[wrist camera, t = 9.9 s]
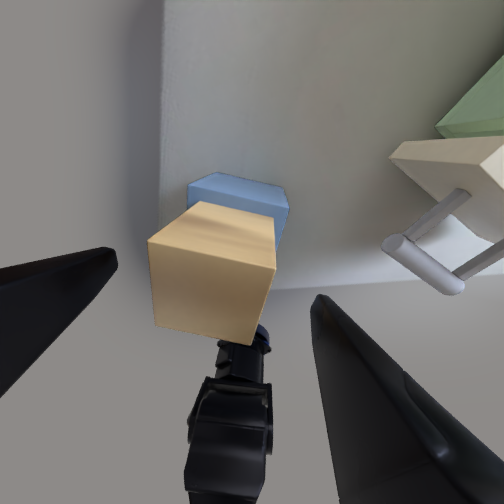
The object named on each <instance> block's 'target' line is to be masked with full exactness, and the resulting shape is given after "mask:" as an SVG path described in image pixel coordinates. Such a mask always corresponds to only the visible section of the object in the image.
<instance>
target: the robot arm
mask: <svg viewBox="0 0 504 504" xmlns="http://www.w3.org/2000/svg"><path fill="white" fill-rule="evenodd" d="M117 268H118V261H117V256H116V252H115V250H114V249H112V248H107V247H100V248H95V249H90V250H85V251H81V252H76V253H72V254H66V255H62V256H57V257H52V258H47V259H43V260H38V261H33V262H29V263H24V264H19V265H15V266H10V267H5V268H0V398H1V397H2V396H3V395H4V394H5V392H7V391H8V389H9V388H10V387H11V386H12V385H13V384H14V383H15V382H16V381H17V380H18V379H19V378H20V377H21V376H22V375H23V374H24V373H25V371H26V370H27V369H28V368H29V367H30V366H31V365H32V364H33V363H34V362H35V361H36V360H37V359H38V358H39V357H40V356H41V354H43V352H44V351H45V350H46V349H47V348H48V347H49V346H50V345H51V344H52V343H53V342H54V341H55V340H56V339H57V338H58V337H59V336H60V334H61V333H62V332H63V331H64V330H65V329H66V328H67V327H68V326H69V325H70V324H71V323H72V322H73V321H74V320H75V319H76V318H77V317H78V315H79V314H80V313H81V312H82V311H83V310H84V309H85V308H86V307H87V306H88V305H89V304H90V303H91V301H92V300H93V299H94V298H95V297H96V296H97V295H98V293H99V292H100V291H101V289H102V288H103V287H104V285H105V284H106V283H107V282H108V280H109V279H110V278H111V277H112V275H113V274H114V273H115V271H116V270H117ZM310 316H311V332H312V345H313V352H314V357H315V363H316V369H317V375H318V381H319V387H320V392H321V398H322V404H323V409H324V416H325V421H326V427H327V433H328V439H329V445H330V450H331V456H332V462H333V467H334V473H335V479H336V485H337V491H338V496H339V498H340V499H339V503H340V504H504V462H503V461H502V460H501V459H500V458H499V457H498V456H497V455H496V454H494V452H492V451H491V450H490V449H489V448H488V447H487V446H486V445H485V444H483V443H482V442H481V441H480V440H479V439H478V438H477V437H476V436H474V435H473V434H472V433H471V432H470V431H469V430H468V429H467V428H465V427H464V426H463V425H462V424H461V423H460V422H459V421H458V420H456V419H455V418H454V417H453V416H452V415H451V414H450V413H449V412H448V411H447V410H446V409H444V408H443V407H442V406H441V405H440V404H439V403H438V402H437V401H436V400H435V399H434V398H433V397H432V396H430V395H429V394H428V393H427V392H426V391H425V390H424V389H423V388H422V387H421V386H420V385H419V384H418V383H417V382H416V381H415V380H414V379H413V378H412V377H411V376H410V375H409V374H408V373H407V372H405V371H403V369H402V368H401V367H400V366H399V365H398V364H397V363H396V362H395V361H394V360H393V359H392V358H391V357H390V356H389V355H388V354H387V353H386V352H385V351H384V350H383V349H382V348H381V347H380V346H379V345H378V344H377V343H376V342H375V341H374V340H373V339H372V338H371V337H370V336H368V334H367V333H366V332H365V331H364V330H363V329H361V328H360V327H359V326H358V325H357V324H356V323H355V322H354V321H353V320H352V319H351V318H350V317H349V316H348V315H347V314H346V313H345V312H344V311H343V310H342V309H341V308H340V307H339V306H338V305H337V304H336V303H335V302H334V301H333V300H332V299H331V298H330V297H329V296H327V295H322V294H318V295H317V296H316V298H315V300H314V302H313V304H312V306H311V310H310ZM217 346H218V347H219V352H218V356H217V360H216V364H215V366H216V367H217V370H216V374H215V378H210V377H208V376H206V378H205V381H204V383H202V386H201V389H200V391H199V394H198V397H197V399H196V402H195V404H194V407H193V409H192V411H191V413H190V414H189V416H188V419H187V425H188V427H189V430H188V444H190V448H189V453H188V458H187V462H186V466H185V469H184V484H185V490H186V491H188V494H189V501H190V504H256V501H257V499H258V497H259V494H260V492H261V489H262V487H263V484H264V481H265V464H266V455H272V447H273V407H272V385H271V384H270V383H267V384H264V383H263V371H264V370H263V368H264V355H265V354H267V353H270V352H271V351H272V348H271V347H270V346H269V345H268V344H266V343H265V342H264V341H263V340H261V339H260V338H259V337H258V336H256V335H255V334H254V337H253V340H252V343H251V345H245V344H240V343H235V342H230V341H226V340H219V341H218V342H217Z"/></svg>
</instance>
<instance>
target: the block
mask: <svg viewBox="0 0 504 504" xmlns="http://www.w3.org/2000/svg"><path fill="white" fill-rule="evenodd" d="M147 249H148V258H149V269H150V278H151V289H152V300H153V310H154V319H155V326H159V327H164V328H168V329H173V330H178V331H182V332H187V333H192V334H197V335H202V336H207V337H211V338H216V339H221V340H226V341H230V342H235V343H240V344H245V345H251V343H252V340H253V337H254V334H255V331H256V328H257V325H258V322H259V319H260V317H261V314H262V311H263V308H264V305H265V302H266V299H267V295H268V293H269V290H270V287H271V284H272V281H273V278H274V275H275V272H276V253H275V235H274V218H273V217H268V216H264V215H260V214H255V213H251V212H246V211H242V210H238V209H233V208H229V207H225V206H220V205H216V204H211V203H207V202H203V201H199V202H198V203H196V204H195V205H194V206H192V207H191V208H189V209H188V210H187V211H185V212H184V213H183V214H181V215H180V216H179V217H177V218H176V219H175V220H173V221H172V222H171V223H169V224H168V225H167V226H165V227H164V228H163V229H161V230H160V231H158V232H157V233H156V234H155V235H153V236H152V237H150V238H149V239H148V240H147Z"/></svg>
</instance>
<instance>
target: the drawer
mask: <svg viewBox="0 0 504 504" xmlns="http://www.w3.org/2000/svg"><path fill="white" fill-rule="evenodd" d="M435 128H436V129H437V130H438V131H439V132H440V133H441V134H442V135H443V136H444V137H445V138H446V139H436V140H419V141H404V142H403V143H402V144H401V145H400V146H399V147H398V148H397V149H396V150H395V151H394V152H393V153H392V154H391V156H390V157H389V159H390V160H391V161H392V162H393V163H394V164H395V165H397V166H398V167H399V168H400V169H401V170H402V171H403V172H405V173H406V174H407V175H408V176H409V177H410V178H411V179H412V180H414V181H415V182H416V183H417V184H418V185H419V186H420V187H422V188H423V189H424V190H425V191H426V192H427V193H428V194H430V195H431V196H432V197H433V198H434V199H435V200H436V201H438V202H439V203H438V204H437V205H436V206H434V207H433V208H432V209H431V210H430V211H428V212H427V213H426V214H425V215H424V216H422V217H421V218H420V219H419V220H418V221H416V222H415V223H414V224H413V225H412V226H410V227H409V228H408V229H407V230H406V231H404V232H403V233H402V234H399V233H396V234H392V235H390V236H388V237H387V238H386V239H385V240H384V241H383V242H382V244H381V249H382V251H384V252H385V253H386V254H388V255H389V256H390V257H392V258H393V259H395V260H396V261H397V262H399V263H400V264H402V265H403V266H404V267H406V268H407V269H409V270H410V271H411V272H413V273H414V274H415V275H417V276H418V277H420V278H421V279H422V280H424V281H425V282H427V283H428V284H429V285H431V286H432V287H433V288H435V289H436V290H438V291H439V292H441V293H442V294H444V295H457V294H459V293H461V292H462V291H463V290H464V287H465V285H464V282H463V281H465V280H467V279H468V278H470V277H472V276H473V275H475V274H477V273H478V272H480V271H482V270H483V269H485V268H487V267H488V266H490V265H491V264H493V263H495V262H496V261H498V260H500V259H501V258H503V257H504V55H503V56H502V57H501V58H500V59H499V60H498V61H497V62H496V63H495V64H494V65H493V66H492V67H491V68H490V69H489V71H488V72H487V73H486V74H485V75H484V76H483V77H482V78H481V79H480V80H479V81H478V82H477V83H476V84H475V85H474V86H473V87H472V88H471V89H470V90H469V91H468V92H467V93H466V94H465V95H464V96H463V97H462V98H461V100H460V101H459V102H458V103H457V104H456V105H455V106H454V107H453V108H452V109H451V110H450V111H449V112H448V113H447V114H446V115H445V116H444V117H443V118H442V119H441V120H440V121H439V122H438V123H437V124H436V125H435ZM450 213H451V214H452V215H454V216H455V217H456V218H457V219H458V220H459V221H460V222H462V223H463V224H464V225H465V226H466V227H467V228H468V229H470V230H471V231H472V232H473V233H474V234H475V235H476V236H478V237H480V238H483V239H485V240H488V241H490V242H492V243H495V244H494V245H493V246H491V247H490V248H488V249H486V250H485V251H483V252H482V253H480V254H479V255H477V256H476V257H474V258H472V259H471V260H469V261H468V262H466V263H465V264H463V265H462V266H460V267H458V268H457V269H455V270H454V271H452V272H450V271H449V270H448V269H447V268H445V267H444V266H443V265H441V264H440V263H439V262H437V261H436V260H435V259H434V258H432V257H431V256H430V255H428V254H427V253H426V252H424V251H423V250H422V249H421V248H419V247H418V246H417V245H415V244H414V243H413V242H415V241H416V240H417V239H419V238H420V237H421V236H422V235H424V234H425V233H426V232H428V231H429V230H430V229H431V228H433V227H434V226H435V225H436V224H438V223H439V222H440V221H442V220H443V219H444V218H445V217H447V216H448V215H449V214H450Z"/></svg>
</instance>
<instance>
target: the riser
mask: <svg viewBox="0 0 504 504" xmlns="http://www.w3.org/2000/svg"><path fill="white" fill-rule="evenodd" d="M199 201H203V202H207V203H211V204H216V205H220V206H225V207H229V208H233V209H238V210H242V211H246V212H251V213H255V214H260V215H264V216H268V217H273V218H274V235H275V253H276V250H277V247H278V244H279V241H280V238H281V234H282V231H283V228H284V225H285V222H286V219H287V215H288V212H289V209H290V208H289V205H288V202H287V199H286V196H285V193H284V190H283V188H282V187H278V186H274V185H270V184H265V183H261V182H257V181H253V180H248V179H244V178H240V177H235V176H231V175H227V174H223V173H218V172H215V173H213V174H211V175H209V176H206V177H204V178H202V179H199V180H197V181H195V182H193V183H190V184H188V188H187V210H188V209H189V208H191V207H192V206H194V205H195V204H196V203H198V202H199Z"/></svg>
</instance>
